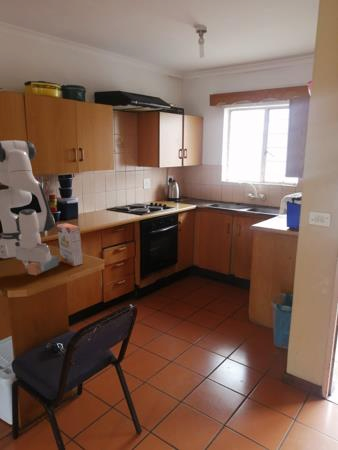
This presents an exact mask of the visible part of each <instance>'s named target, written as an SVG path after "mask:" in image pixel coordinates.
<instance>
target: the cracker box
mask: <svg viewBox="0 0 338 450" xmlns="http://www.w3.org/2000/svg"><path fill="white" fill-rule="evenodd" d="M56 228H57V229H56V230H57V237H58V238H57V239H58V245H59V252H60V253H59V254H60V261H61V262H62V263H65V264H66V265H69V266H71V267H77V266H81V265H83V264H84V262H83V261H84V259H83V249H82V240H81V239H82V238H81V231H80V229H81V228H80V226H78V225H75V224H71V223H67V222H65V223H60V224H56Z"/></svg>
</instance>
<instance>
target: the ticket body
mask: <svg viewBox="0 0 338 450" xmlns="http://www.w3.org/2000/svg"><path fill="white" fill-rule="evenodd" d="M50 255H51V261H50V262H48V263H46V264H45V266H44V270H43V271H42V273H44V272H46V271H48V270H51V269H53V268H56V267H57V266H59V265H60V263H59V255H52V254H50ZM38 263H40V262H38Z"/></svg>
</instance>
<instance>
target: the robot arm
mask: <svg viewBox="0 0 338 450" xmlns="http://www.w3.org/2000/svg"><path fill="white" fill-rule="evenodd" d="M36 153H37V152H36V147H35V145H34V144H33V142H31V141H27V140H15V139H12V140H0V183H1V185H4V186H5V187H6V186H7V187H8V188H7V189H6V188H5V189H0V223H1V227H2V232H1V233H0V236H1V238H0V259H10V258H15V259H17V260H20V261H22V263H23V265H24V269H27V270H28V266H27V264H29V263H28V262H40V264H41V267H39V270H40V271H43V270H44V266H45V264H46V263H48V262H50V261H51V255H52V254H51V252H50V248H49V246H48V245H47V244H46V243H42V240H41V239H42V238H41V234H40V232H51V230H53V228H54V227H55V225H56V224H55V223H56V222H55V218H54V215H53V214H52V211H51V208H50V206H49V202H48V198H47V195H46V193H45V190H44V188H43V185H42V183H41V182H40V181H38V180H37V179H36V178H35V176H34V174H33V169H32V164H31V161H33V160H34V159H35V157H36ZM32 194H33V195H35V197H36V198H37V200H38V201H37V202H38V203H39V207H40V209H41V212H36V210H35V209H32V208H26V209H22V210H20V211H19V213H18V214H16V213H13V212H12V211H11V209H13V208H20V207H24V206H27V205H30V204H31V202H32V199H33V197H32V196H33V195H32Z"/></svg>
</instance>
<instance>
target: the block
mask: <svg viewBox="0 0 338 450" xmlns="http://www.w3.org/2000/svg"><path fill="white" fill-rule="evenodd" d="M27 266H28V269H27V272H28V273H27V274H28V275H31V276H37V275H40V274H42V273H43V272H42V271H40V270H39V267H41V264H40V263H38V262H33V261H31V263H28V264H27Z"/></svg>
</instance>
